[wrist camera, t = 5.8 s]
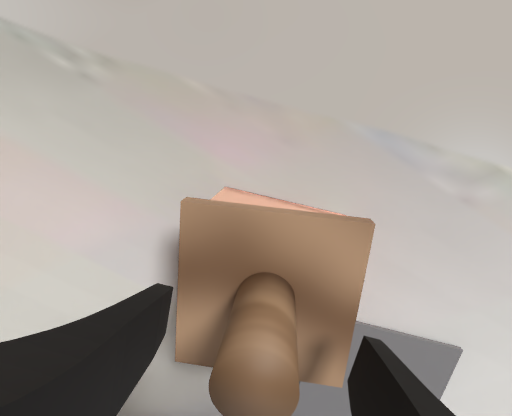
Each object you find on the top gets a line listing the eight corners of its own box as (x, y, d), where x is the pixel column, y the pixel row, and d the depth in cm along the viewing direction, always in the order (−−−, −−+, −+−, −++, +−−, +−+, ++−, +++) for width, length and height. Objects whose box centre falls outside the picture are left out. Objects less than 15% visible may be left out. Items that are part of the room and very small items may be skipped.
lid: (339, 374, 15) (370, 519, 9) (180, 350, 16) (120, 471, 10) (370, 218, 13) (431, 283, 7) (186, 196, 14) (116, 242, 8)
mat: (411, 452, 21) (413, 456, 20) (287, 419, 21) (287, 423, 21) (460, 347, 18) (462, 350, 18) (320, 312, 19) (321, 315, 18)
